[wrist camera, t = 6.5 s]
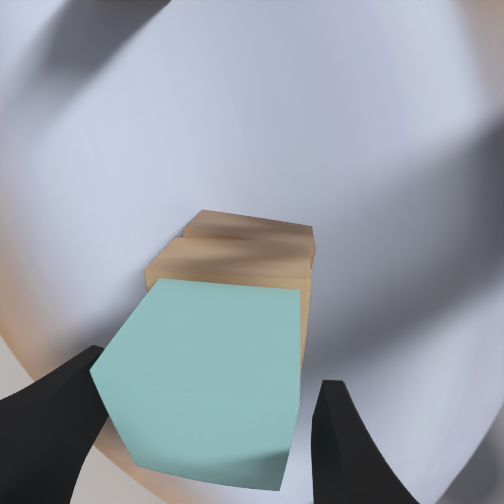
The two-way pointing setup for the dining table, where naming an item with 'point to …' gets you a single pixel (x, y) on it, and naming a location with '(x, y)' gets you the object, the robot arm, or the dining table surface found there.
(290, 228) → the brown wooden block
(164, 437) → the cube
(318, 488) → the robot arm
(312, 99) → the dining table surface
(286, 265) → the slab upper
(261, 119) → the dining table surface
